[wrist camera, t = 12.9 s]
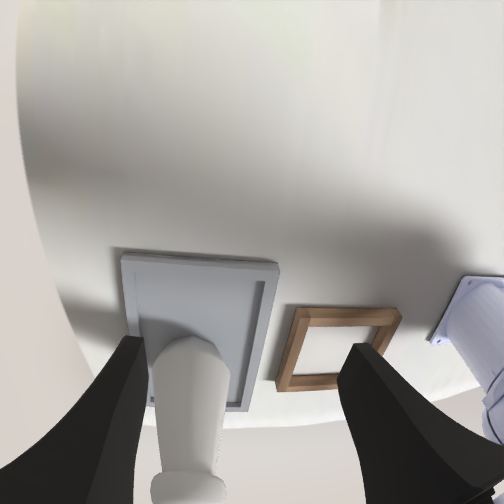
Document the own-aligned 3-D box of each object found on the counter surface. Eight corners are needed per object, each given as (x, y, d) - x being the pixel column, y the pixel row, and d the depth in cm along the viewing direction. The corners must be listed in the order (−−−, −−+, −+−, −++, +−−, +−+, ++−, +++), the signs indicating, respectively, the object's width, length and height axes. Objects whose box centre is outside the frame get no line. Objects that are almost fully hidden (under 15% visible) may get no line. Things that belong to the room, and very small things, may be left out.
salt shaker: (185, 383, 25) (182, 524, 14) (140, 345, 23) (114, 503, 11) (243, 360, 24) (260, 515, 13) (200, 315, 22) (197, 497, 10)
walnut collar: (396, 308, 24) (402, 317, 23) (361, 377, 28) (365, 386, 27) (296, 307, 23) (300, 317, 22) (275, 381, 27) (277, 392, 26)
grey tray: (277, 263, 21) (280, 271, 20) (247, 403, 28) (247, 411, 27) (124, 252, 19) (120, 259, 18) (144, 397, 27) (142, 405, 26)
